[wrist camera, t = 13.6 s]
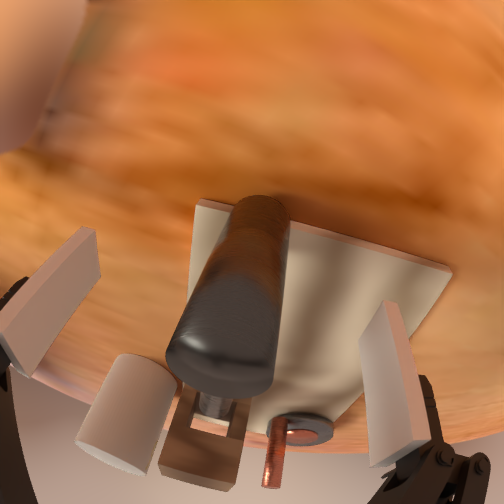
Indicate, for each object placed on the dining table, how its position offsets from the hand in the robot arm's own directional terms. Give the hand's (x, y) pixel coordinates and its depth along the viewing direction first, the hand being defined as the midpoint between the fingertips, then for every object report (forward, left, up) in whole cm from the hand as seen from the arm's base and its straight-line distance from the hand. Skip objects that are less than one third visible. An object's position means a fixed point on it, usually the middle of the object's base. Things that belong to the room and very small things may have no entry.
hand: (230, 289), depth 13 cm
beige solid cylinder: (-9, -24, -7) cm, 26 cm away
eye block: (+5, -15, -7) cm, 17 cm away
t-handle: (0, -6, -6) cm, 8 cm away
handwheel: (+10, -24, -6) cm, 27 cm away
